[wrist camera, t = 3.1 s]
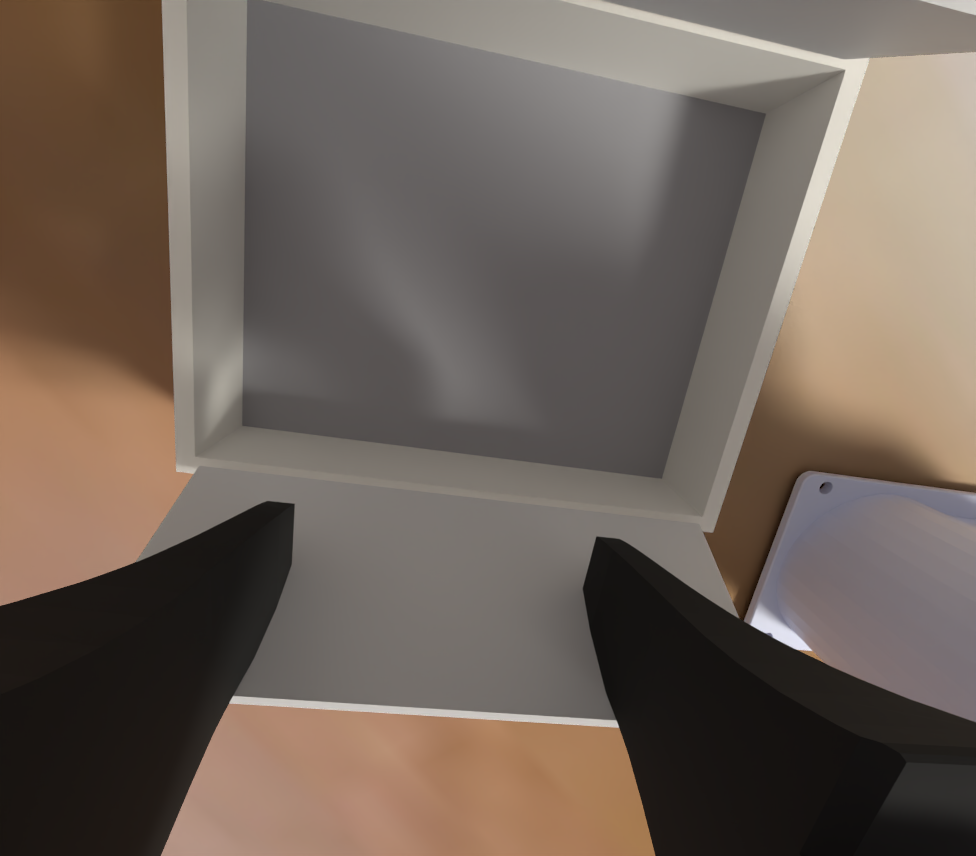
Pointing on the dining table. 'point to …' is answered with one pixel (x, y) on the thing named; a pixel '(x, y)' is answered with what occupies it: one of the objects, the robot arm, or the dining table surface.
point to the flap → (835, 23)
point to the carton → (486, 242)
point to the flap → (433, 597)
